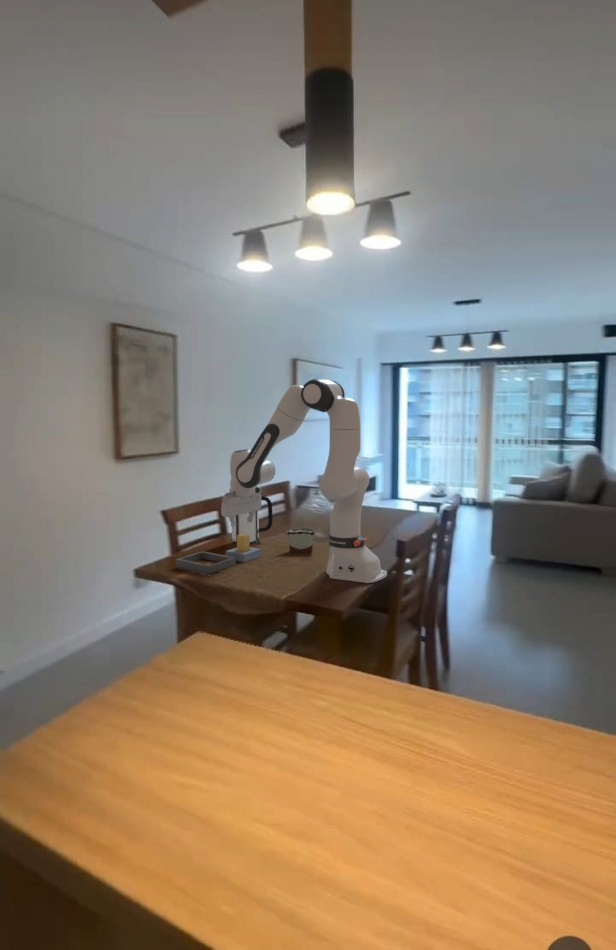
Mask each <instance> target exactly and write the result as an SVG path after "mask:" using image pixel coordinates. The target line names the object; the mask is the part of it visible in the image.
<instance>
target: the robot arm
mask: <svg viewBox="0 0 616 950" xmlns="http://www.w3.org/2000/svg"><path fill="white" fill-rule="evenodd" d="M345 394H346V393H345V389H344V388H343V386H342V385H341V384H340V383H338V382H337V381H335V380H329V379H327V378H313V379H310V380H308V381H306V382H305V383H304V384H303V385H302V384H293V385H291V386H289V388H288V389H287V390H286V392H285V393H284V394H283V396H282V397H281V399H280V401H279V402H278V404H277V406H276V409H275V411H274V412H273V414H272V416H271V417H270V420H269V421H268V423H267V424H266V426H265V427H264V429H263V430H262V431H261V433H260V434H259V437H258V438H257V440H256V442H255V443H254V445H253V447H251V448H252V449H248V448H247V449H241V450H235V451H233V452H232V454H231V456H230V461H229V473H230V477H231V478H230V485H229V486H230V487H229V488H230V489H229V491H230V493H229V492H226V493H224V495H223V497H222V502H221V509H220V511H221V517H225V518H228V520H229V522H230V527H231V528H232V527H235V526H237V522H235V520H234V518H235V515H240V514H244V513H249V517H248V518H247V522H249V523H250V522H252V521H253V516H254V514H255V511H256V510H258V511H260V510H261V509H262V500H261V496H262V495H261V493H262V488H261V487H260V486H259V485H263V484H266V483H268V482H271V481H272V480H273V479H274V478H275V475H276V467H275V464H274V463H273V462H272V461H271V460H270V459H268V456H269V455H270V453H271V451H272V450H273V448H274V447H275V446H277V445H278V444H279V443H280V442H282V441H284V440H285V439H288V438H289V437H292V436H294V435H295V434H296V432H297V431H298V430H299V429H300V427H301V426H302V424H303V422H304V420H305V418H306V416H307V415H308V413H309V411H310V410H315V411H318V412H321V413H326V414H327V415H328V418H329V448H328V449H329V451H328V457H327V462H326V466H325V469H324V472H323V474H322V476H321V477H320V480H319V481H318V482H319V483H318V488H319V491H320V493H321V495H322V496H323V497H324V498H325V499H328V500H333V501H334V504H333V508H332V509H331V511H330V514H329V530H330V531H329V534H328V546H329V555H328V562H327V566H326V571H325V572H326V574H327V575H328V576H329V578H330V579H331V580H332V579H333V580H340V581H349V582H350V581H351V582H355V583H356V582H357V583H364V584H370V583H377V582H379V581H381V580H383V579H384V578H386V577H387V576H388V572H387V570H384V569H382V567H381V566H382V565H381V561H380V559H379V557H378V556H377V555H376V554H375V553H374V552H373V551H372V550H370V549H369V548H368V547H367V546H366V545H365V544H366V543H365V542H366V541H367V537H363V536H362V534H361V516H362V515H361V514H362V508H363V502H364V498H365V494H366V491H367V488H368V486H369V485H370V475H369V473H368V471H366V469H365V468H363V467H360V466H357V465H356V463H357V462H356V461H357V458H358V456H359V454H360V452H361V417H360V408H359V404H358V403H357V401H356V400H355V399H353V398H349V397H346V395H345Z"/></svg>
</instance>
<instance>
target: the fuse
mask: <svg viewBox="0 0 616 950" xmlns="http://www.w3.org/2000/svg"><path fill="white" fill-rule="evenodd" d="M250 544H251V543H249V535H244V534H241V535H237V545H236V548H237V551H241V552H247V551H250V547H251V546H250Z"/></svg>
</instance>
